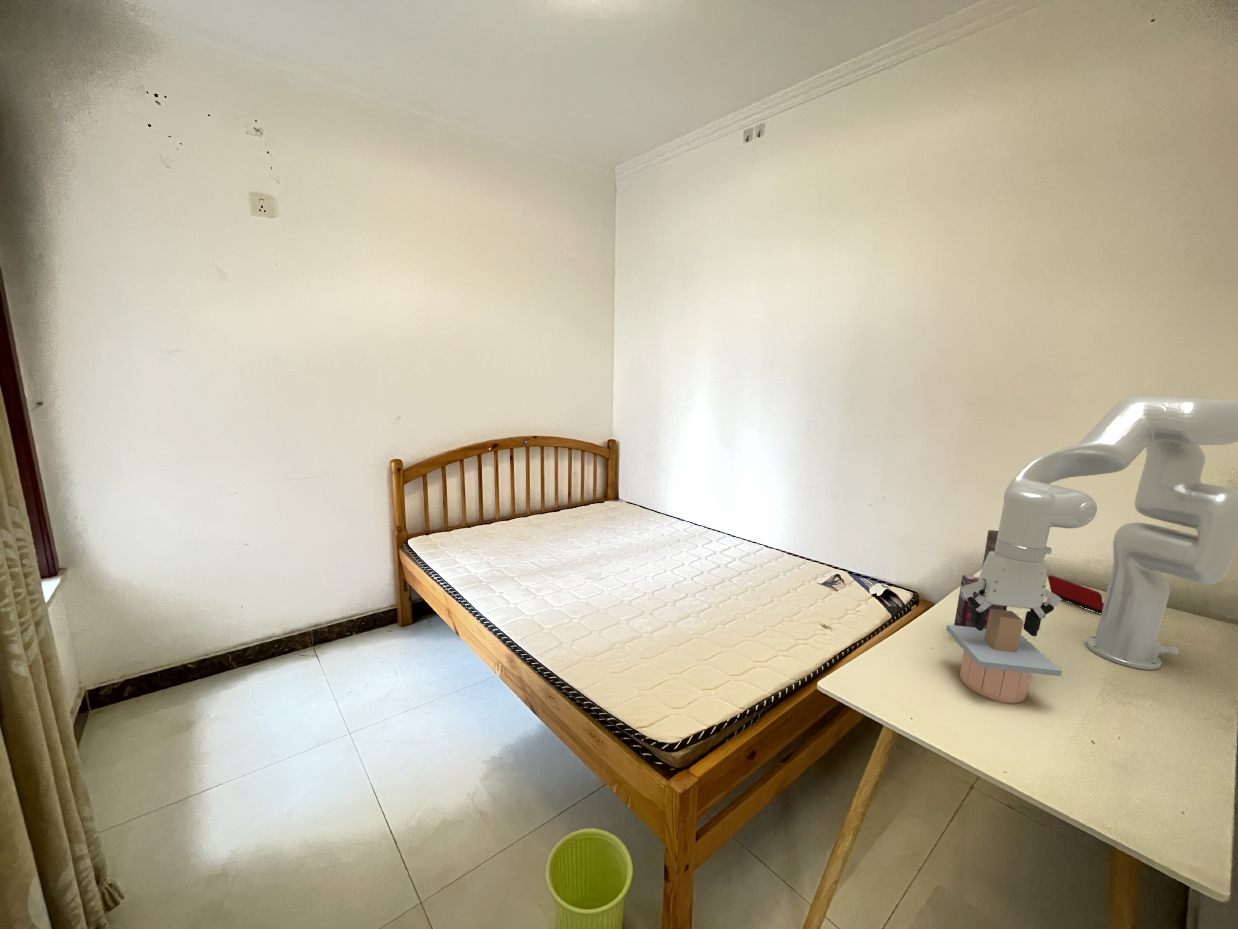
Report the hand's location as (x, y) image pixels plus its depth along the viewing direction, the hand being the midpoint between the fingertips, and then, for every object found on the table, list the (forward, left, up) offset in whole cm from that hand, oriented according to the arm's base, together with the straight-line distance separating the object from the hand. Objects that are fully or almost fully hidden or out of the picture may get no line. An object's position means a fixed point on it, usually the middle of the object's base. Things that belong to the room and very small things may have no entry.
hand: (1002, 630), depth 101 cm
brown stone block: (-22, -45, -13) cm, 52 cm away
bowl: (0, 0, -13) cm, 13 cm away
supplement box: (-5, -18, -13) cm, 23 cm away
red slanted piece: (-45, -47, -13) cm, 67 cm away
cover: (0, 0, -5) cm, 5 cm away
